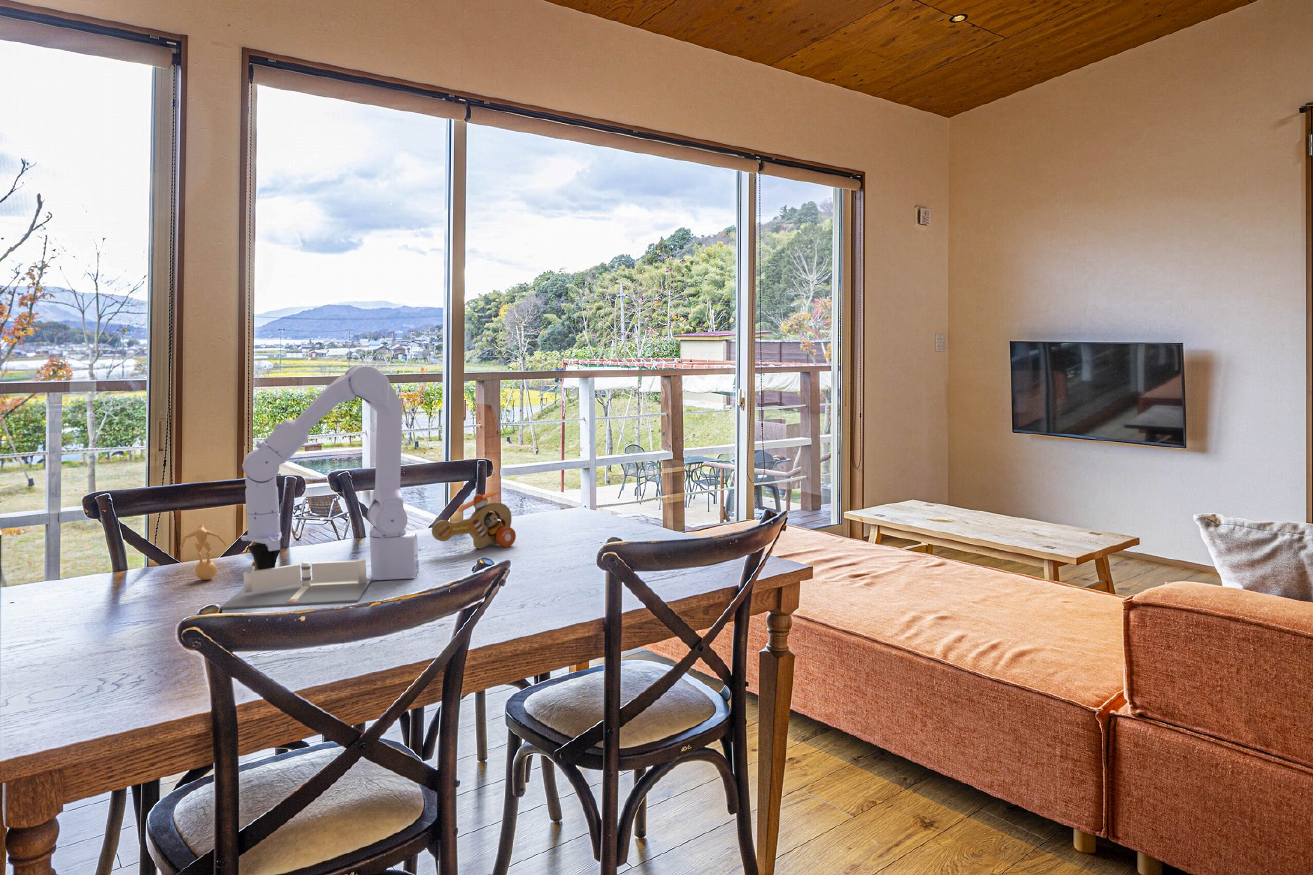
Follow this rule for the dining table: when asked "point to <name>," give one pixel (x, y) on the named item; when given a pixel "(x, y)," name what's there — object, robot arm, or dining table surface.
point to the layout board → (300, 595)
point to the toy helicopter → (480, 523)
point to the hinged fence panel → (271, 578)
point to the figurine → (204, 568)
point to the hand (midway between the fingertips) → (266, 580)
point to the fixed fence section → (334, 571)
